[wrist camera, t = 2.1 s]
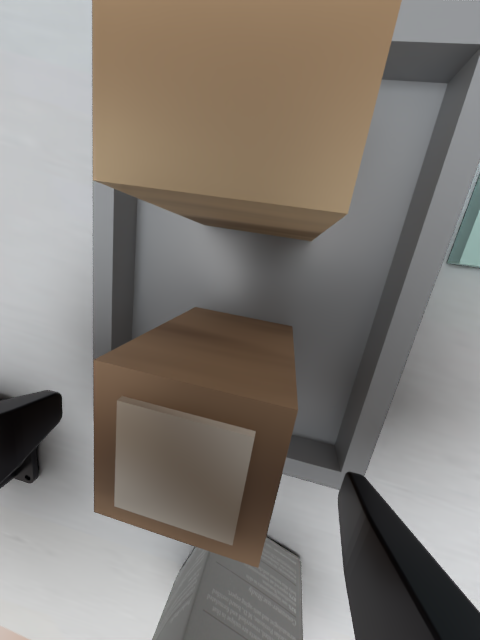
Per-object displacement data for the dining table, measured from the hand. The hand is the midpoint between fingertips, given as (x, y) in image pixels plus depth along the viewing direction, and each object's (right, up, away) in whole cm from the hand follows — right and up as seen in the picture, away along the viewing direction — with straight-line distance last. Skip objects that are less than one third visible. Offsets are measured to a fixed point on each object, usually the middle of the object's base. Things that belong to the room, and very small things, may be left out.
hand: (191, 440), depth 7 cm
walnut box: (+1, +1, +6) cm, 6 cm away
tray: (+2, +6, +5) cm, 8 cm away
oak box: (+3, +10, +3) cm, 11 cm away
